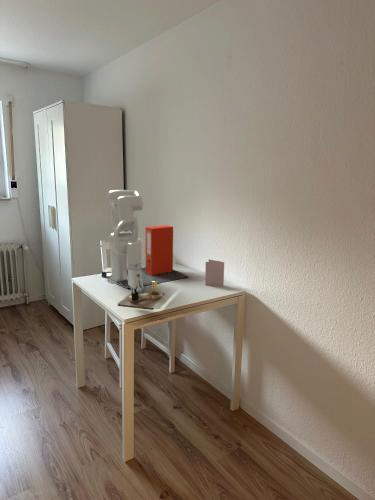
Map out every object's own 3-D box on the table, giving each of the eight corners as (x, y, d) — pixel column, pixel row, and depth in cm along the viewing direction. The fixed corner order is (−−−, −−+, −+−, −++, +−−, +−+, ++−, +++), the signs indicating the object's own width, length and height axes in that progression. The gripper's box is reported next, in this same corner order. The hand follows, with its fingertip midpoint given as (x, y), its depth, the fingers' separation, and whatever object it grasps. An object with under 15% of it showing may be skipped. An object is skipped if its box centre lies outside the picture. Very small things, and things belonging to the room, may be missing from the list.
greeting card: (224, 285, 222) (225, 261, 219) (217, 288, 217) (218, 264, 213) (208, 281, 229) (209, 259, 226) (202, 284, 223) (202, 261, 220)
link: (157, 293, 200) (157, 289, 200) (162, 297, 195) (162, 293, 194) (126, 299, 191) (126, 295, 190) (131, 302, 185) (131, 298, 185)
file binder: (172, 271, 251) (173, 226, 244) (151, 275, 240) (151, 228, 233) (166, 269, 257) (166, 225, 250) (145, 272, 247) (145, 227, 240)
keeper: (137, 297, 195) (137, 289, 194) (142, 292, 202) (142, 285, 201) (140, 297, 194) (140, 290, 194) (145, 293, 201) (145, 286, 200)
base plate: (117, 306, 186) (117, 303, 185) (134, 292, 206) (134, 290, 206) (152, 310, 181) (152, 307, 181) (165, 295, 202) (165, 293, 201)
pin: (153, 295, 197) (153, 280, 195) (157, 296, 197) (157, 280, 195) (151, 297, 195) (151, 281, 193) (156, 297, 194) (156, 282, 192)
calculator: (123, 273, 233) (101, 270, 235) (123, 279, 234) (101, 277, 236) (128, 268, 244) (107, 266, 246) (128, 275, 245) (107, 272, 247)
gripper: (147, 268, 178) (147, 303, 182) (135, 262, 191) (136, 294, 194) (133, 270, 174) (133, 305, 178) (122, 263, 187) (123, 297, 191)
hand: (135, 300), depth 186 cm, fingers closed
